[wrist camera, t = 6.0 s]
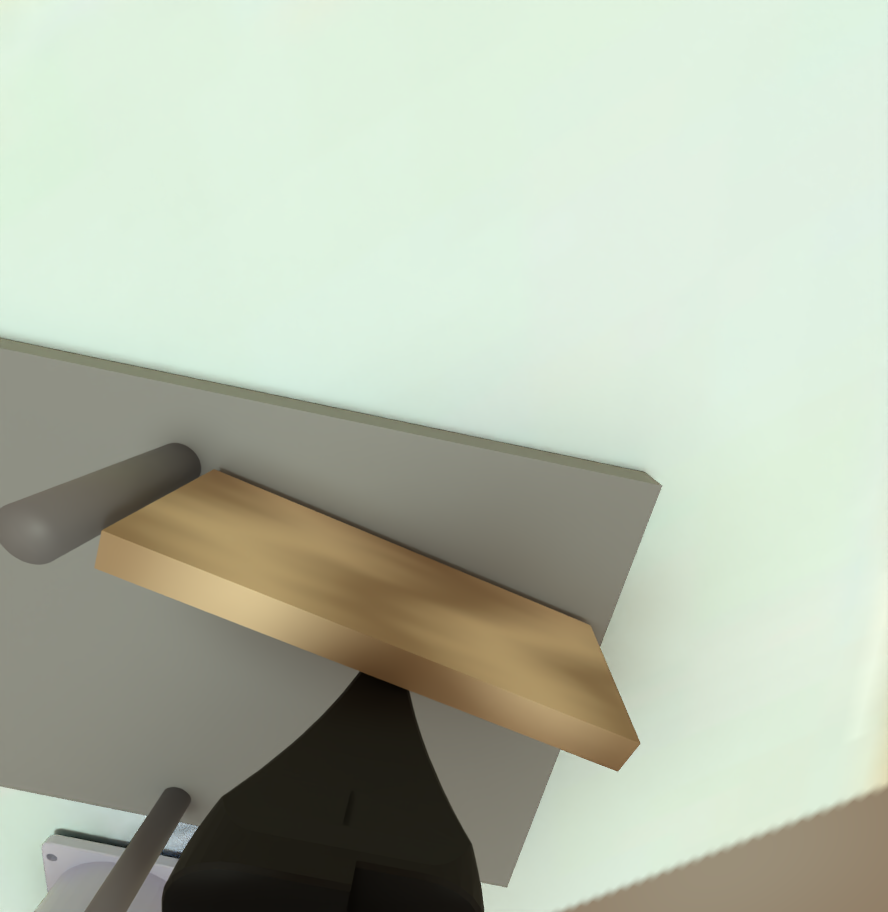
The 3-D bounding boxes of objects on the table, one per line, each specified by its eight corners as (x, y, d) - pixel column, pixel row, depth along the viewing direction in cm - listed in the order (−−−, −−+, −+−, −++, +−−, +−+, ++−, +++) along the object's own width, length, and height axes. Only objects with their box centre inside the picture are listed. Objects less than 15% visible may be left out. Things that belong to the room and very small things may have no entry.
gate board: (504, 853, 19) (520, 1070, 13) (-33, 746, 19) (-243, 920, 13) (645, 472, 13) (773, 573, 8) (-120, 313, 13) (-550, 299, 8)
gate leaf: (590, 625, 13) (640, 743, 9) (575, 647, 14) (617, 771, 10) (213, 469, 12) (102, 530, 9) (206, 496, 13) (94, 568, 9)
